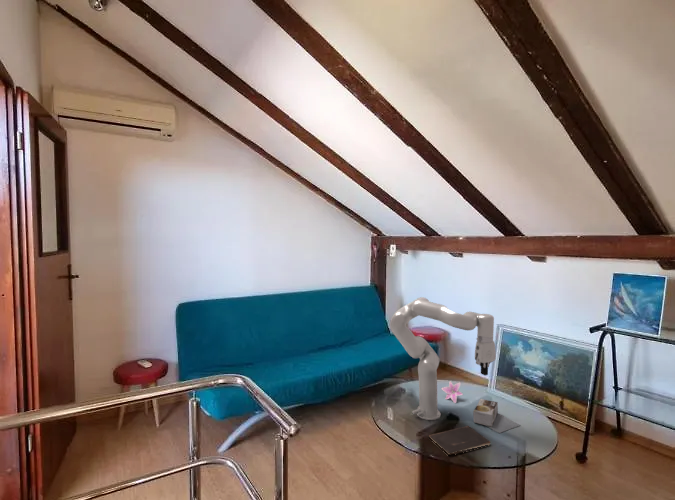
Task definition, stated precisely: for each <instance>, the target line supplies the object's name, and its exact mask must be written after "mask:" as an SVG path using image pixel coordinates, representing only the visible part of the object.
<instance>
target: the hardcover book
mask: <svg viewBox="0 0 675 500" xmlns="http://www.w3.org/2000/svg"><path fill="white" fill-rule="evenodd" d="M427 437H430V438H431V439H432V440H433V441H434V442H435V443H437V444H438V445H439V446H440V447H441V448H443V449H444V450H445V451H446V452H447V453H448V454H450V453H454V452H457V451H462V450H467V449H472V448H477V447H481V446H485V445H488V446H490V445H491V441H490V440H488V439H487V438H486V437H485V436H483V435H482V434H481V433H480V432H478V431H476V430H475V429H473V427H471V426H470V425H466V426H462V427H457V428H454V429H450V430H445V431H442V432H437V433H433V434H429V435H428V436H427ZM433 441H432V442H433ZM434 442H433V443H434ZM435 443H434V444H435ZM485 447H486V446H485ZM481 448H482V447H481ZM477 449H478V448H477Z"/></svg>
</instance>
